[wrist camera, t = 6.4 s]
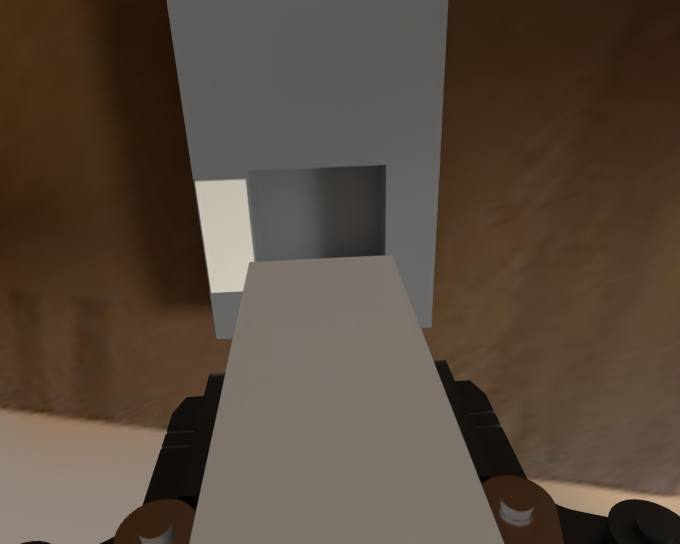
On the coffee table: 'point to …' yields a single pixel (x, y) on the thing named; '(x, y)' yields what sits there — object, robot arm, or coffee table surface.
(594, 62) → the coffee table surface
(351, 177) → the socket panel
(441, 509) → the plug
